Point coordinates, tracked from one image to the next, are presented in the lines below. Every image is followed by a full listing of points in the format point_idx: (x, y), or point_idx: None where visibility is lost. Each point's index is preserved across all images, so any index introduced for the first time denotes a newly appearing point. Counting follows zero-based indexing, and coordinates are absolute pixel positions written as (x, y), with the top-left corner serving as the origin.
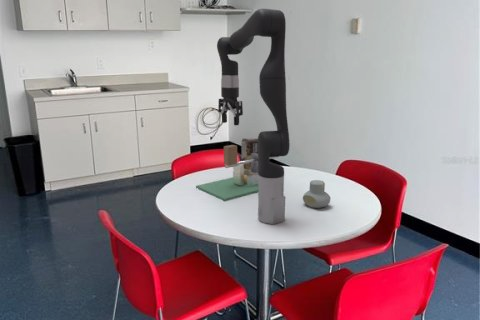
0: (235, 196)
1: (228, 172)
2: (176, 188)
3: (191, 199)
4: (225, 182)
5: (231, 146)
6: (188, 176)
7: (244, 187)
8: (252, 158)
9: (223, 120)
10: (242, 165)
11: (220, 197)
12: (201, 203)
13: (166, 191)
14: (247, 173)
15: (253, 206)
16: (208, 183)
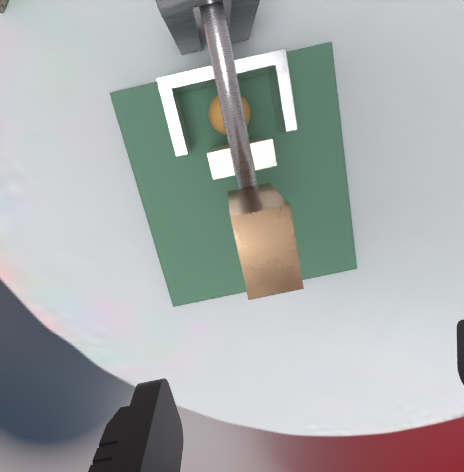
0: (351, 222)
1: (3, 93)
2: (152, 360)
3: (281, 350)
4: (181, 189)
5: (283, 251)
6: (16, 282)
7: (280, 144)
8: (178, 15)
9: (177, 460)
10: (272, 147)
11: (330, 272)
12: (331, 335)
13: None
14: (204, 82)
15: (453, 199)
16: (165, 256)
